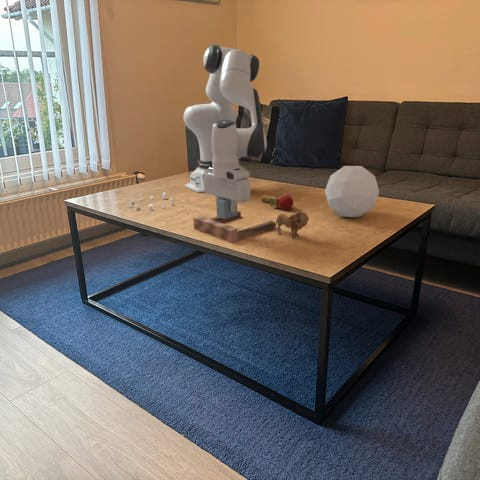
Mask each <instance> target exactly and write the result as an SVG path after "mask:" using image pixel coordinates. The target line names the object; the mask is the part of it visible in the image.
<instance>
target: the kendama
mask: <svg viewBox="0 0 480 480" xmlns="http://www.w3.org/2000/svg"><path fill="white" fill-rule="evenodd" d="M260 200H261V201H262V202H263V203H269V206H270V207H271V208H272V209H274V210H275V209H277V208H278V207H279V208H280V209H281V210H284V211H288V210H290V209H292V207H293V206H294V199H293V197H292V196H290V195H289V194H286V193H281V194H280V196H279V197H275V196H269V195H267V194H262V195H261V198H260Z"/></svg>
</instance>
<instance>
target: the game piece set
mask: <svg viewBox="0 0 480 480" xmlns="http://www.w3.org/2000/svg"><path fill="white" fill-rule="evenodd" d="M138 195H139V198H138V199H137V200H138V202H142V201H141V200H143V201H144V198H142V197H141V196H142V194H141V193H139V194H138ZM149 196H150V199H151V200H154V196H153V195H152V194H151V192H150V193H149ZM166 198H167V192H163V193H162V199H163V200H166ZM129 200H130V202H129V204H128V208H131V209H132V208H133V207H134V206H133V205H134V199H133V198H132V197H130V198H129ZM139 200H140V201H139ZM169 202H170V205H172V204H173V205H174V202H175V201H174V199H173V198H172V197H171V198H170V199H169ZM132 203H133V204H132ZM153 206H154V205H153V204H152V203H149V204H148V209H149V211H153V210H154V209H153ZM161 207H162V209H166V205H165V204H164V203H163V205H162V206H161ZM134 208H135V209H136V210H137V211H138V210H139V209H141V205H138V204H135V207H134Z"/></svg>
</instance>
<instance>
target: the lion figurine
mask: <svg viewBox="0 0 480 480" xmlns="http://www.w3.org/2000/svg"><path fill="white" fill-rule="evenodd" d="M308 221H310V217H309V216H308V214H307V213H306V212H305V211H299V212H297V213H296V214H292V215H290V216H287V215H286V214H284V213H280V214H278V216H277V218H276V220H275V226H274V227H272V228H271V229H270V230H274V229H275V228H276V226H277V229H276V230H277V234H278V235H282V232H281V231H282V228H281V226H285V228H288V229H290V234H291V239H293V240H294V239H296V237H299V235H300V234H299V233H298V231H299V230H302V229H303V227H305V226H306V225H307V224H308Z"/></svg>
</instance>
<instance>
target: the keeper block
mask: <svg viewBox="0 0 480 480" xmlns="http://www.w3.org/2000/svg"><path fill="white" fill-rule="evenodd" d="M215 203H216V217H220V218H223V219H226V218H229V217H233V216H236V215H237V211H238V204H237V205H236V206H235V212H230V211H229V206H231V204H232V203H231V202H230V199H226V198H222V199H218V200H216V199H215Z"/></svg>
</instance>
